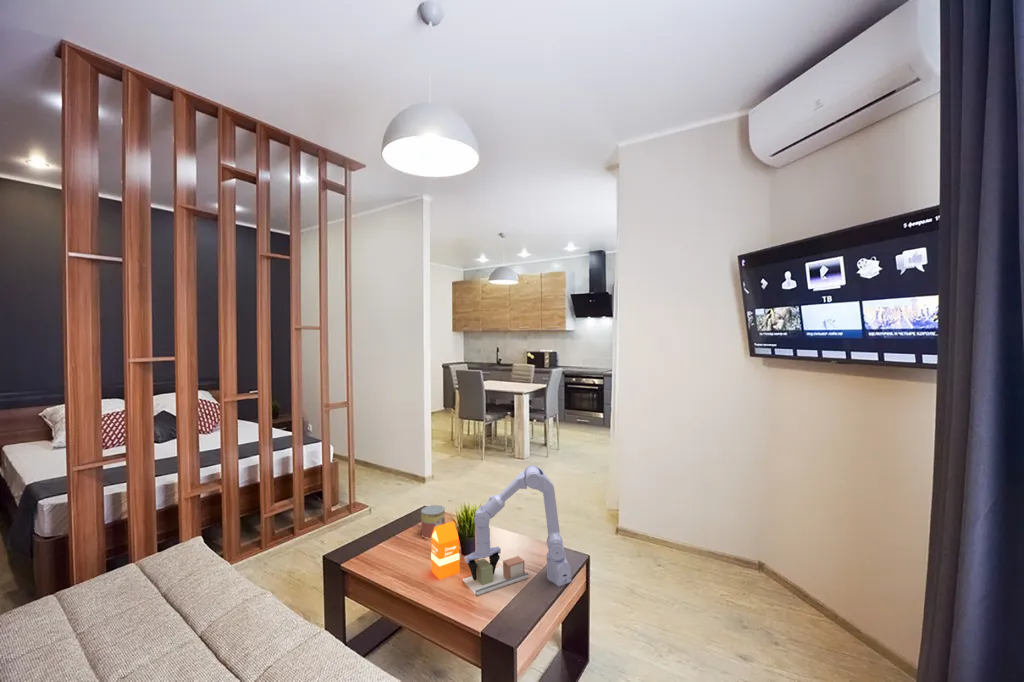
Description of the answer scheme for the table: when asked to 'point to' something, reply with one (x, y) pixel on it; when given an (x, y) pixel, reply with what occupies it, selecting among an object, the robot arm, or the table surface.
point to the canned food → (432, 519)
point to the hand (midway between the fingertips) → (483, 576)
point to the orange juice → (445, 551)
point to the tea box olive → (484, 571)
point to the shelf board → (496, 584)
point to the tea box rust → (513, 567)
